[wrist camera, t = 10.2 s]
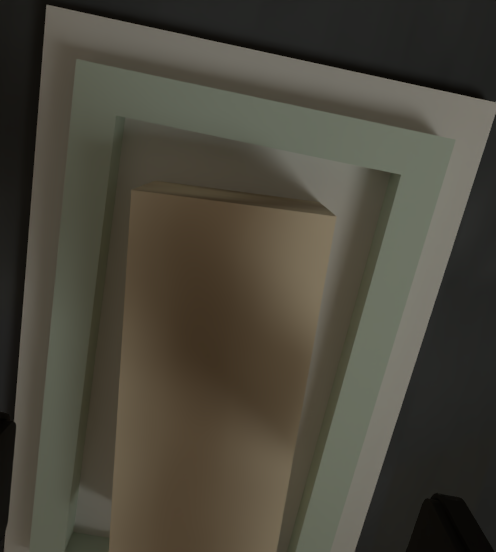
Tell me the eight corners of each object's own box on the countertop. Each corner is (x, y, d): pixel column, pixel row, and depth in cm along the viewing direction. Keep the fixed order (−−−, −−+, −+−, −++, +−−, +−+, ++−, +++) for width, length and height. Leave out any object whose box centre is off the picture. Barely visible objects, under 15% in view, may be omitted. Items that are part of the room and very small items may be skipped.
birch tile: (319, 202, 14) (336, 216, 12) (264, 524, 18) (267, 599, 15) (155, 180, 14) (131, 189, 11) (130, 509, 18) (106, 582, 15)
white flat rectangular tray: (328, 613, 19) (335, 651, 18) (8, 562, 19) (-12, 597, 17) (490, 104, 14) (517, 99, 13) (53, 9, 14) (30, -7, 12)
